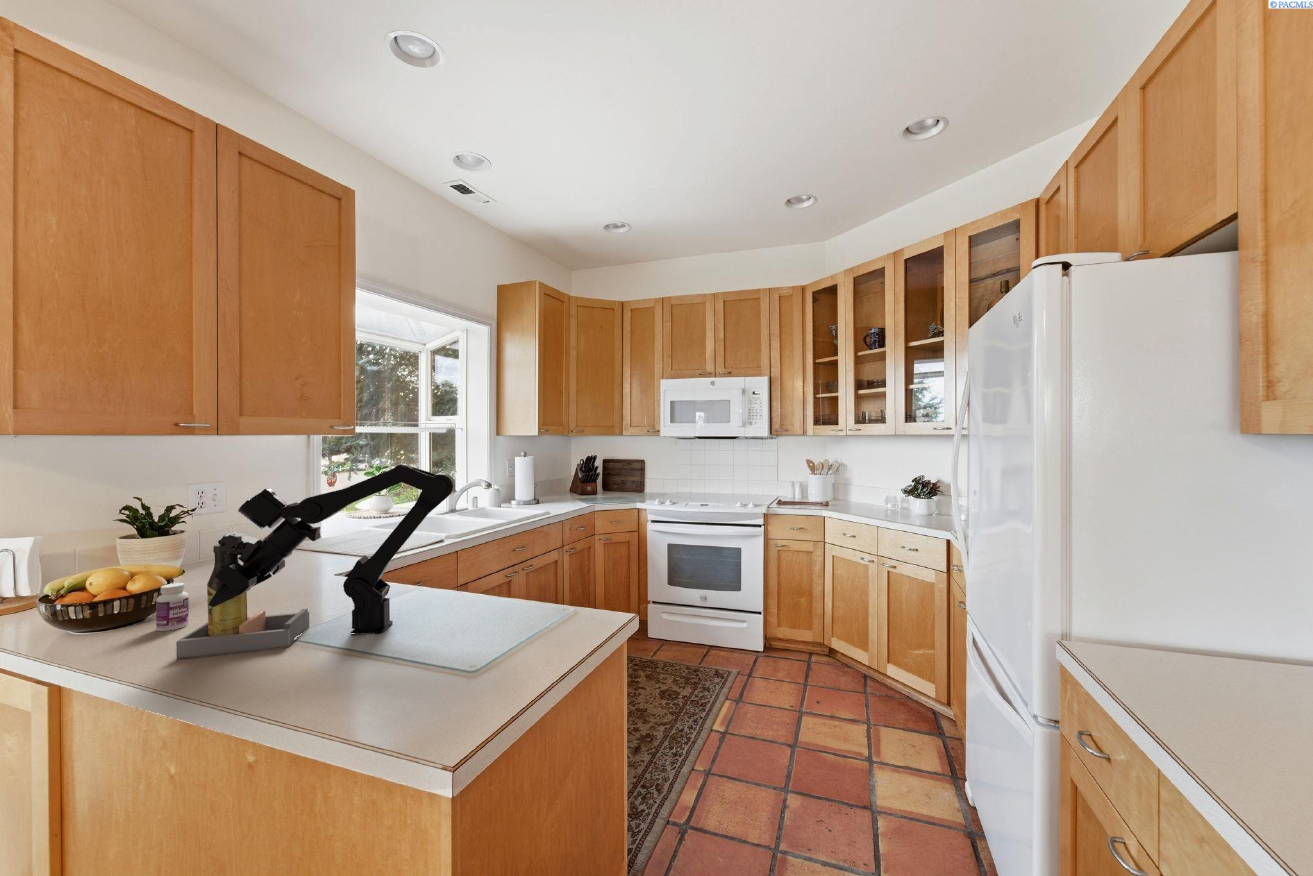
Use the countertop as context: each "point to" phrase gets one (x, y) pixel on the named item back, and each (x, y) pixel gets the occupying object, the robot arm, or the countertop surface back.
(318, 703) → the countertop surface
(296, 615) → the tray
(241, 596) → the sauce bottle
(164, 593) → the pill bottle
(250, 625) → the plate
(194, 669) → the countertop surface
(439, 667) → the countertop surface
